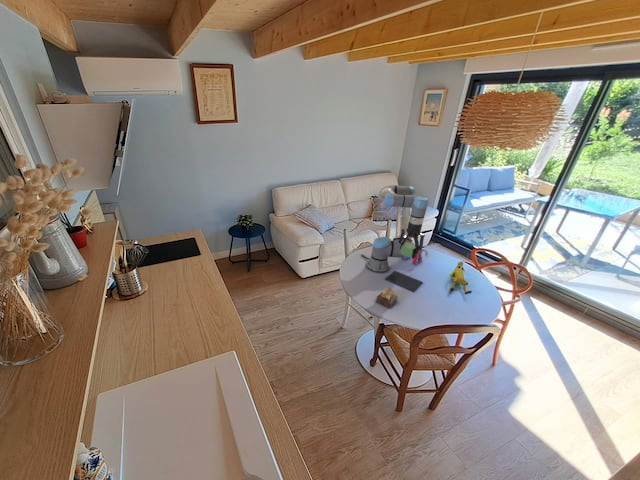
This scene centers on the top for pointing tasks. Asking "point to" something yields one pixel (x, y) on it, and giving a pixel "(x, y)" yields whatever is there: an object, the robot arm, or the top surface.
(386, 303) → the walnut block
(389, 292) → the beech block
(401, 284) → the mat
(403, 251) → the green block
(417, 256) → the toy
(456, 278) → the figurine
